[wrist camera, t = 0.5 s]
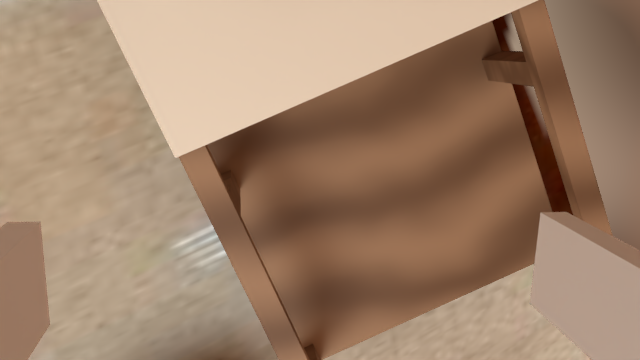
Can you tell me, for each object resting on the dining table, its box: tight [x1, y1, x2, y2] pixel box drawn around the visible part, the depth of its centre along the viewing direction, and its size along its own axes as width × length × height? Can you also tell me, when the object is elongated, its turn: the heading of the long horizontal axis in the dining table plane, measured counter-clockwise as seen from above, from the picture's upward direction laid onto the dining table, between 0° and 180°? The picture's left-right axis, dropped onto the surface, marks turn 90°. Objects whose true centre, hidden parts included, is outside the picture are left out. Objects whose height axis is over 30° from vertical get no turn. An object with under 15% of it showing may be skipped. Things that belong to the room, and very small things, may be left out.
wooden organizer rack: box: [179, 0, 612, 360], centre depth 37 cm, size 30×22×10 cm
